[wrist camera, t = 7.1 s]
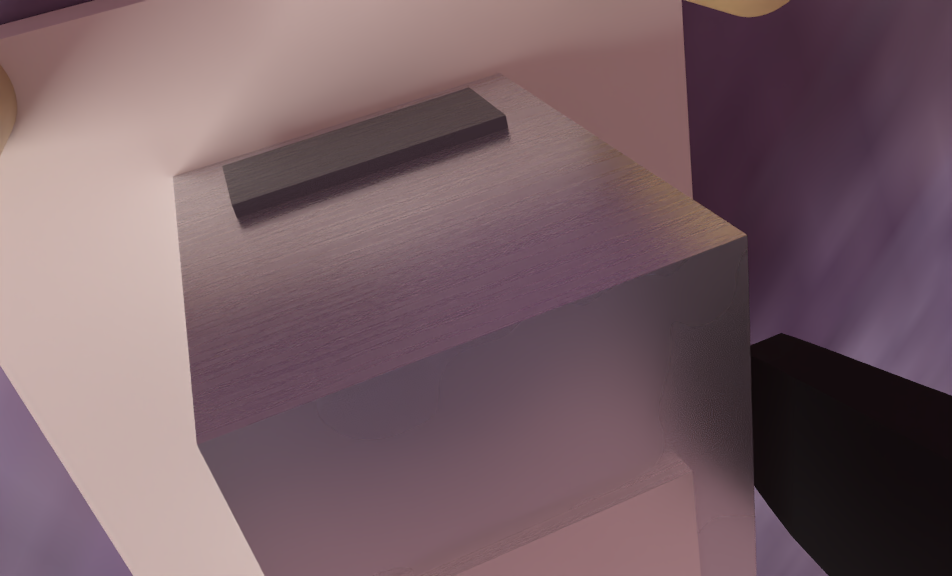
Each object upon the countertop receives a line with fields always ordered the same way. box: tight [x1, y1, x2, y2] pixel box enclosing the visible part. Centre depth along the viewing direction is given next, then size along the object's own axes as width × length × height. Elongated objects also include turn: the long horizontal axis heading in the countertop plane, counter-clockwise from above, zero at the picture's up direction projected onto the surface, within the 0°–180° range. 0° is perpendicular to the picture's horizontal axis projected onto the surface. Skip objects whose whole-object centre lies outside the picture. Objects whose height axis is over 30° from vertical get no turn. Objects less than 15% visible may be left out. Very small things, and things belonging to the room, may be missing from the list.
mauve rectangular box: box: [173, 73, 756, 576], centre depth 10 cm, size 8×4×5 cm, turn 12°
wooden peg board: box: [0, 0, 790, 576], centre depth 11 cm, size 13×10×4 cm
